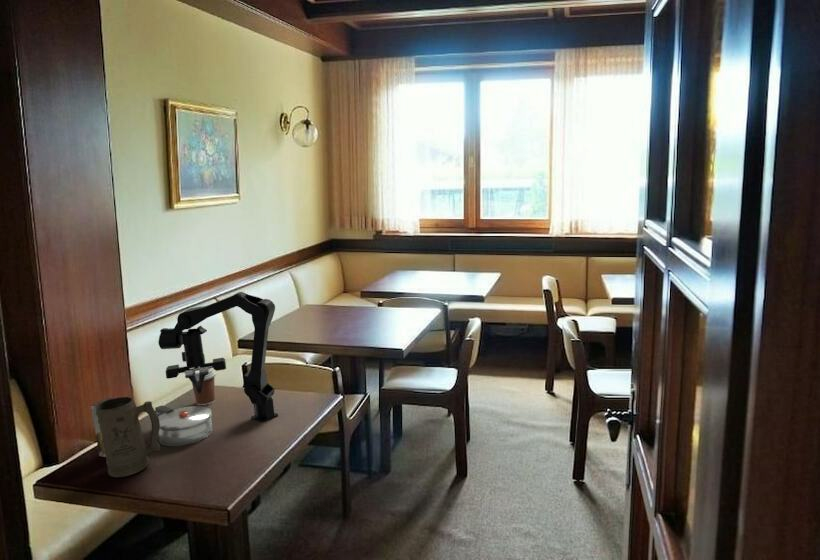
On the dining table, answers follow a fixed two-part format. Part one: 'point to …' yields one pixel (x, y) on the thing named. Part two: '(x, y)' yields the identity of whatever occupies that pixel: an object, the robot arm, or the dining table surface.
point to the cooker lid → (182, 417)
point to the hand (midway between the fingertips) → (199, 392)
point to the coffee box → (98, 428)
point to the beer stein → (126, 435)
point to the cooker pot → (185, 434)
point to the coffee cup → (205, 389)
